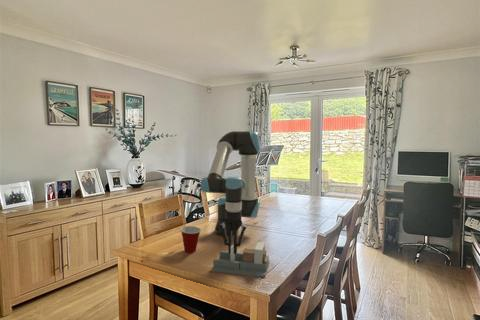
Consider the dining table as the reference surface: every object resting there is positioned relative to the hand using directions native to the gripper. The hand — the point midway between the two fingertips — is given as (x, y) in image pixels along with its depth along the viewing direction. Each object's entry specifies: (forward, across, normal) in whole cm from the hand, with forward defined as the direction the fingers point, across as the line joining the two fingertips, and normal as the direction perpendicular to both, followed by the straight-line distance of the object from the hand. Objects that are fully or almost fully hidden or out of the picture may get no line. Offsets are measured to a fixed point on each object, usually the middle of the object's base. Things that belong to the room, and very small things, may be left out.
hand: (232, 260), depth 135 cm
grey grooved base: (+3, +4, 0) cm, 5 cm away
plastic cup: (+3, -25, +12) cm, 28 cm away
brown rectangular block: (+1, +10, -1) cm, 11 cm away
